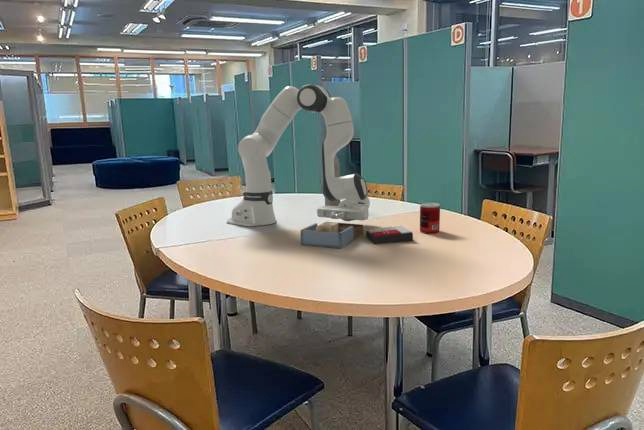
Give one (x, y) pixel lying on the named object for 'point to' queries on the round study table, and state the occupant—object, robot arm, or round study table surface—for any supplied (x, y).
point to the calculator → (389, 235)
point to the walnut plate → (356, 229)
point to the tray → (326, 237)
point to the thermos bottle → (337, 174)
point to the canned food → (429, 218)
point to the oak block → (328, 227)
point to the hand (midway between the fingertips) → (334, 216)
